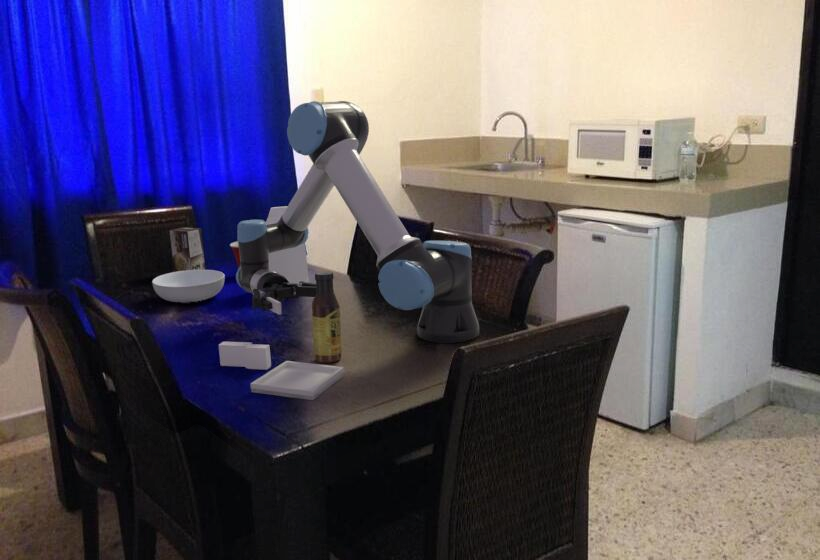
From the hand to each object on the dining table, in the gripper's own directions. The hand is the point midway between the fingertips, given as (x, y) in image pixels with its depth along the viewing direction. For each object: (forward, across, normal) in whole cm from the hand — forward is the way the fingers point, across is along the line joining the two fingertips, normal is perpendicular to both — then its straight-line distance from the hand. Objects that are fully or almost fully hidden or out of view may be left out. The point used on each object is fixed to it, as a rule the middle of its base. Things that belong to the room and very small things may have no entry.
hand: (307, 303), depth 171 cm
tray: (+19, +12, -11) cm, 25 cm away
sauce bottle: (+9, 0, -11) cm, 15 cm away
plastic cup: (-82, -18, -11) cm, 85 cm away
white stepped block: (+2, +17, -12) cm, 20 cm away
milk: (-55, -19, -11) cm, 60 cm away
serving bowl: (-64, +8, -11) cm, 66 cm away
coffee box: (-97, -2, -11) cm, 98 cm away
